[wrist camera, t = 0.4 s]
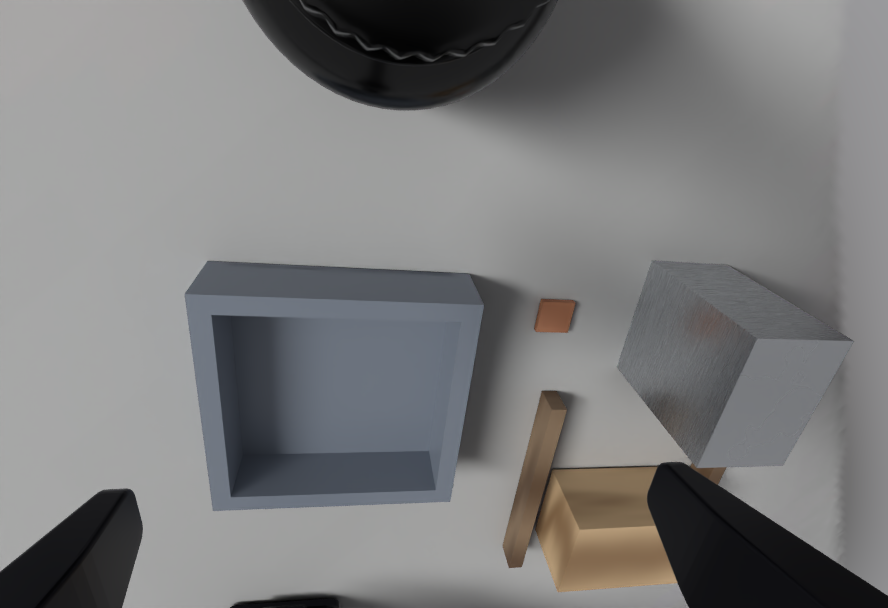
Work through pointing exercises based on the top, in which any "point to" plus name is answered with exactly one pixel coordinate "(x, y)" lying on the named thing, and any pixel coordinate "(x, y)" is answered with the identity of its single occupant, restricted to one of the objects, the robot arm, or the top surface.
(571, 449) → the top surface
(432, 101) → the supplement bottle
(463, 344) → the tray
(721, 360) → the block
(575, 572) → the block
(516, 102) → the top surface
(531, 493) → the bar
